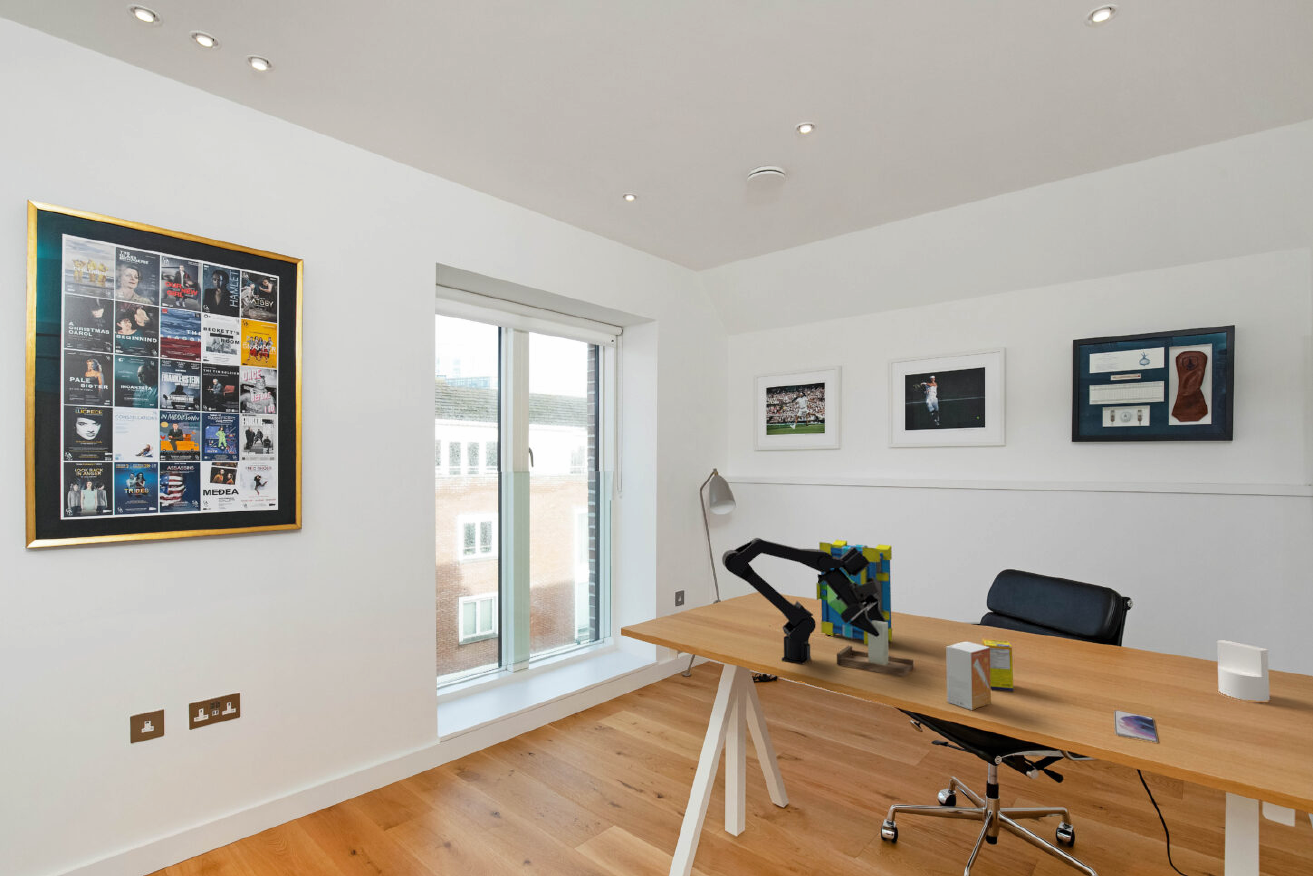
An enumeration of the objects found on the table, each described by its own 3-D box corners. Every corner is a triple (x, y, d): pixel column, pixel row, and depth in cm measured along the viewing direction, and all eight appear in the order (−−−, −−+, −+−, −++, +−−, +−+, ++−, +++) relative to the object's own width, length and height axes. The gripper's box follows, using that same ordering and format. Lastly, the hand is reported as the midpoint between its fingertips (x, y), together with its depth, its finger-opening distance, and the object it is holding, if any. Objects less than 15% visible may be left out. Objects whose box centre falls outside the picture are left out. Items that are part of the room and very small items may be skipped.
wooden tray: (836, 664, 177) (836, 653, 177) (848, 656, 185) (848, 645, 185) (904, 677, 166) (904, 665, 166) (913, 667, 174) (913, 656, 174)
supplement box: (1009, 684, 161) (1007, 640, 161) (1013, 692, 155) (1012, 646, 156) (982, 681, 163) (981, 638, 163) (986, 689, 157) (985, 644, 158)
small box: (972, 711, 143) (971, 652, 144) (946, 702, 149) (945, 645, 149) (992, 703, 148) (990, 646, 148) (966, 695, 153) (964, 640, 154)
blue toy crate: (838, 627, 217) (837, 539, 218) (902, 642, 199) (900, 545, 200) (813, 634, 208) (811, 542, 209) (877, 650, 190) (875, 549, 191)
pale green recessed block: (868, 664, 174) (867, 624, 174) (873, 660, 178) (872, 620, 179) (883, 667, 172) (882, 626, 172) (888, 662, 176) (888, 622, 176)
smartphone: (1153, 717, 139) (1158, 742, 126) (1153, 721, 139) (1158, 746, 126) (1113, 709, 143) (1114, 732, 130) (1113, 713, 143) (1114, 737, 130)
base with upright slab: (1210, 692, 154) (1208, 642, 155) (1231, 687, 158) (1229, 638, 159) (1257, 705, 146) (1255, 652, 147) (1278, 699, 150) (1275, 648, 150)
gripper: (851, 573, 171) (895, 621, 164) (872, 564, 186) (912, 607, 179) (823, 599, 175) (864, 647, 168) (846, 588, 190) (884, 631, 183)
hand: (883, 632), depth 174 cm, fingers open, 9 cm apart
